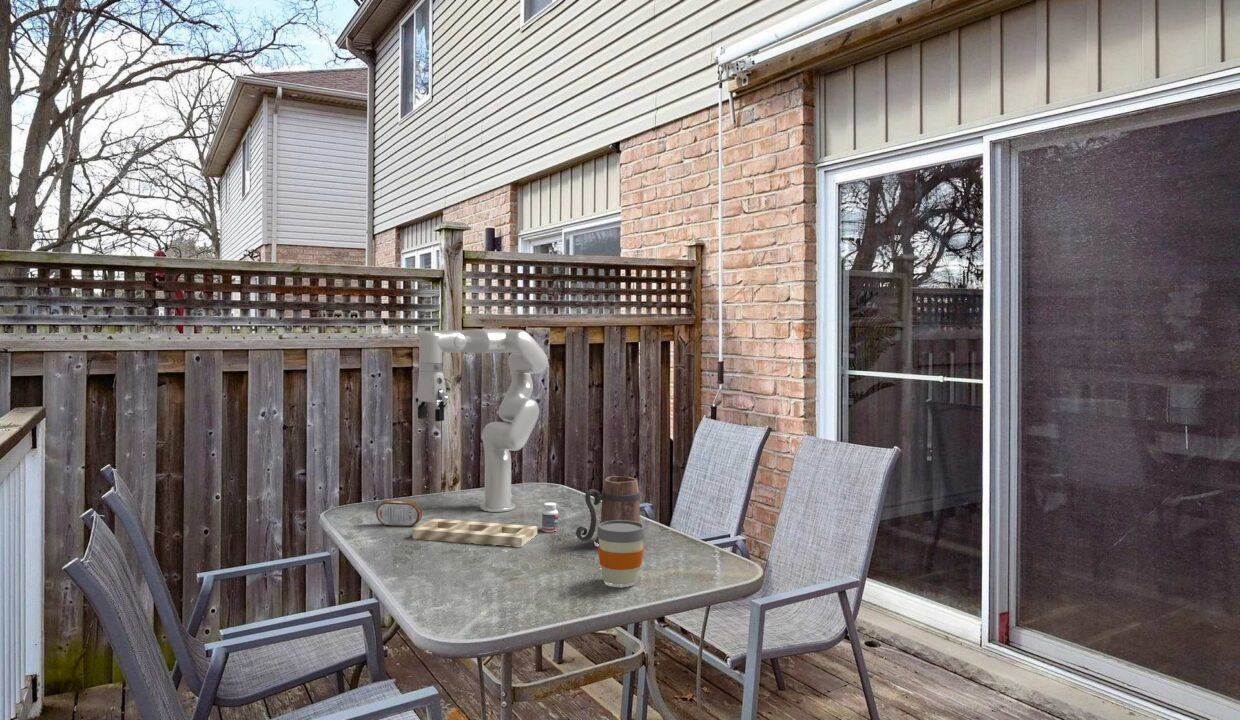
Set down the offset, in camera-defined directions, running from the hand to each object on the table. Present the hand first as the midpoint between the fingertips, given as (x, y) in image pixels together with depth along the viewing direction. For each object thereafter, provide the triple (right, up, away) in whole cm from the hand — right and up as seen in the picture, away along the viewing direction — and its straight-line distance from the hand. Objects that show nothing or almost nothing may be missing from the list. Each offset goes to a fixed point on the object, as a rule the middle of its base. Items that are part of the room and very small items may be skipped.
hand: (430, 419), depth 262 cm
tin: (-10, -35, -2) cm, 37 cm away
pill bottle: (+40, -36, -5) cm, 54 cm away
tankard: (+60, -37, -20) cm, 74 cm away
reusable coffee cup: (+63, -39, -56) cm, 93 cm away
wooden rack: (+18, -36, -14) cm, 43 cm away
